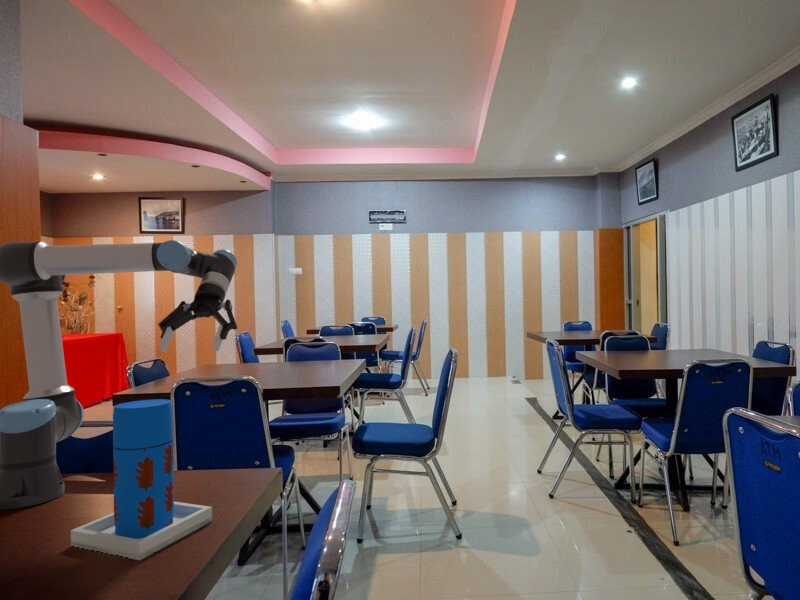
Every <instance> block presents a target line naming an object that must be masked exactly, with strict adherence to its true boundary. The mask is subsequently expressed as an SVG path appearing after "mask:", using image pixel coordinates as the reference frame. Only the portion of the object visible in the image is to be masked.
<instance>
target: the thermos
mask: <svg viewBox="0 0 800 600" xmlns="http://www.w3.org/2000/svg"><path fill="white" fill-rule="evenodd" d="M112 411H113V413H112V447H113V449H112V454H113V455H112V456H113V457H112V458H113V459H112V461H113V462H112V464H113V467H112V468H113V513H114V521H115V534H116V535H118V536H123V537H128V538H134V539H139V538H145V537H147V536H149V535H151V534H153V533H155V532H157V531H159V530H161V529H163V528H165V527H167V526H169V525H171V524H173V513H174V502H175V499H174V498H175V496H174V487H175V486H174V443H173V442H174V441H173V440H174V439H173V438H174V437H173V436H174V434H173V433H174V432H173V431H174V430H173V428H174V427H173V425H174V424H173V404H172V400H170V399H163V398H161V399H141V400H134V401H133V400H132V401H128V402H127V401H126V402H121V403H118V404H116V405H114V406H113V410H112Z"/></svg>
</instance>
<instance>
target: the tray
mask: <svg viewBox="0 0 800 600" xmlns="http://www.w3.org/2000/svg"><path fill="white" fill-rule="evenodd" d="M211 522H213V506H207V505H201V504H193V503H187V502H181V501H174V513H173V524H171V525H169V526H167V527H165V528H163V529H161V530H159V531H157V532H155V533H153V534H151V535H149V536H147V537H145V538H139V539H134V538H128V537H123V536H118V535H116V534H115V521H114V512H111V513H109V514H107V515H105V516H102V517H100V518H97V519H95V520H93V521H90V522H87V523H86V524H83V525H80V526H78V527H75V528H73V529H71V530H70V547H72V546H74V547H73V548H77V547H79V548H78V549H82V548H84V549H83V550H87V549H88V550H87V551H91V550H94V551H93V552H96V551H100V552H99V553H101V552H103V554H106V553H108V554H107V555H111V554H113V555H112V556H116V555H119V556H118V557H120V556H123V557H122V558H125V557H128V558H127V559H130V558H131V560H136V561H141V560H143V559H145V558H147V557H149V556H151V555H153V554H154V552H155V553H157V552H158V551H160V550H162V549H164V548H165V547H167V546H169V545H171V544H172V543H175V542H177V541H178V540H180V539H182V538H184V537H185V536H188V535H189V534H191V533H193V532H195V531H197V530H198V529H200V528H203V527H204V526H206V525H208V524H210V523H211Z"/></svg>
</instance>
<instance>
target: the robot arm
mask: <svg viewBox="0 0 800 600" xmlns="http://www.w3.org/2000/svg"><path fill="white" fill-rule="evenodd" d="M237 264H238V260H237V257H236V255H235V254H234V253H233V252H232V251H229V250H227V249H223V248H222V249H217V250H215V251H214V252H213V253H212V254H211V253H206V252H201V251H198V250H194V249H191V248H190V247H189V246H188V245H186V244H185V243H184V242H182V241H180V240H176V239H175V240H173V239H172V240H171V239H169V240H166V241H164V242H144V243H142V242H141V243H139V242H138V243H133V242H132V243H107V244H106V243H104V244H103V243H101V244H100V243H99V244H65V245H64V244H63V245H48V244H47V243H46V242H45V241H35V242H34V241H18V240H16V241H15V240H14V241H9V242H8V241H7V242H5V243H2V244H0V282H1V283H3V284H5V285H7V286H9V288H10V296H11V298H12V299H13V300H15V301H17V302H18V304H19V305H18V306H19V312H20V319H21V322H20V323H21V330H22V337H23V339H22V340H23V346H24V354H25V360H26V361H25V363H26V373H27V379H28V388H29V390H28V392H26V394H24V396H23V398H22V401H19V402H13V403H10V404H8V405H6V406H4V407H2V408H1V409H0V510H1V511H3V510H12V509H13V510H14V509H15V510H16V509H22V508H26V507H31V506H36V505H39V504H43V503H47V502H49V501H50V502H51V501H53V500H55V499H57V498H59V497H60V496H62V495H63V494H64V493H65V492H66V491H65V488H66V487H65V486H66V485H65V481H64V478H63V476H62V474H61V471H60V469H59V466H58V464H57V443H59V442H60V441H63V440H65V439H68V438H69V437H71V436H72V435H74V433H75V432H76V431H77V430H79V428H80V427H81V425H82V423H83V420H84V415H85V412H84V408H83V405H82V404H81V403H80V402H79V401H78V400H77V398H76V393H75V392H76V391H75V388H73V387H72V386H70V385H69V383H68V378H67V371H66V370H67V369H66V362H65V354H64V347H63V338H62V330H61V329H62V327H61V320H60V312H59V311H60V310H59V304H58V299H59V298H60V297H61V296H62V295H63V294H64V291H63V290H64V289H63V283H64V282H65V280H66V277H67V276H71V275H73V276H74V275H76V276H77V275H91V274H92V275H93V274H119V273H143V272H171V273H174V274H181V275H185V276H190V277H196V278H199V279H201V281H200V283H199V285H198V287H197V290H196V292H195V294H194V298H193V301H192V302H190V303H186V301H185V300H183V301H180V303H179V304H178V306H177V307H176V308H175V309H173V311H171V312H170V313H169V314H168V315H166V316H165V318H163V319H162V320H161V321H160V322H159V323H158V324H157V325H158V326H159V329H160V330H161V332H162V333H161V335H160V339H161V340H160V342H159V344H158V347H159V349H160V351H161V352H162V353H163V354H164V353H165V354H166V353H167V350H168V348H169V346H170V344H171V342H172V340H173V337H174V335H175V333H174V332H175V331H176V330H178V329H180V328H181V327H182V326H185V325H186V324H187V323H189V322H190V321H194V320H195V319H197V318H210V317H213V318H214V319H215V320H216V321H217V323H219V325H218V328H217V331H216V334H215V336H214V340H213V341H212V346H213V348H214V351H215V352H219V351H220V348H221V345H222V343H223V340H227V337H228V334H229V332H230V331H231V330H234V331H235V330H238V325H237V322H236V320H235V318H234V317H235V316H234V314H233V312H232V310H233V305H232V302H231V300H230V299H226V300H225V298H226V296H227V293H228V290H229V288H230V285H231V283H232V279H233V277H234V274H235V273H236V268H237ZM224 301H225V302H224ZM222 309H223V311H225V312H226V314H227V317H228V319H229V322H228V321H227V320H226V319H225V318H224V317H223V316H222V314H221V313H220V312H219V311H220V310H222Z"/></svg>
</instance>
